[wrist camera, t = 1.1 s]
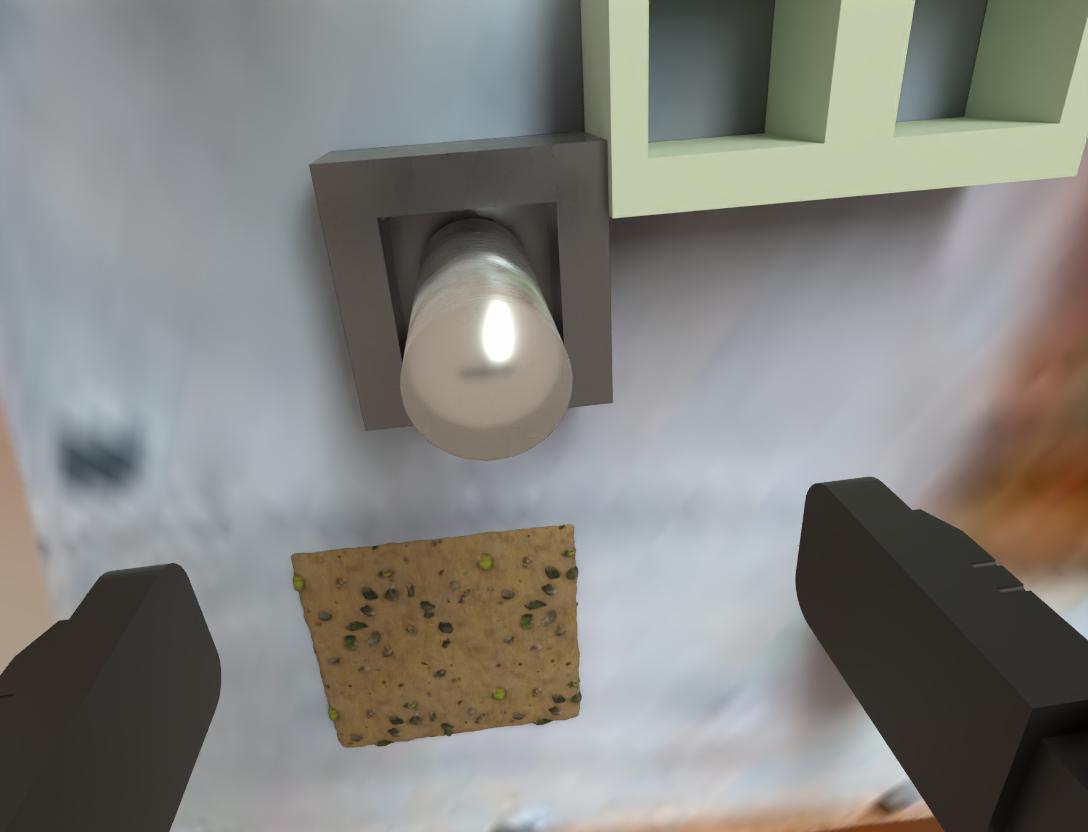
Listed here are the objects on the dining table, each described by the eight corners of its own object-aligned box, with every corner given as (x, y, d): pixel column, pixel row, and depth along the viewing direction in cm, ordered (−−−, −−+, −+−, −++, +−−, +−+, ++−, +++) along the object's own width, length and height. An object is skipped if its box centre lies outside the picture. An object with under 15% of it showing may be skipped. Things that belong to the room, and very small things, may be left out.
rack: (577, -103, 19) (606, -145, 15) (1045, -127, 20) (1174, -172, 16) (586, 196, 22) (612, 218, 19) (981, 161, 23) (1076, 175, 20)
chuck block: (330, 151, 21) (309, 164, 18) (584, 131, 21) (607, 140, 18) (376, 386, 24) (365, 430, 21) (592, 362, 25) (612, 402, 22)
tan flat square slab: (575, 514, 29) (579, 527, 28) (581, 709, 34) (584, 725, 33) (287, 545, 28) (282, 559, 27) (341, 741, 33) (338, 758, 32)
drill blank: (411, 223, 21) (386, 312, 13) (524, 213, 21) (568, 294, 13) (427, 331, 23) (414, 469, 15) (533, 321, 23) (576, 450, 15)
